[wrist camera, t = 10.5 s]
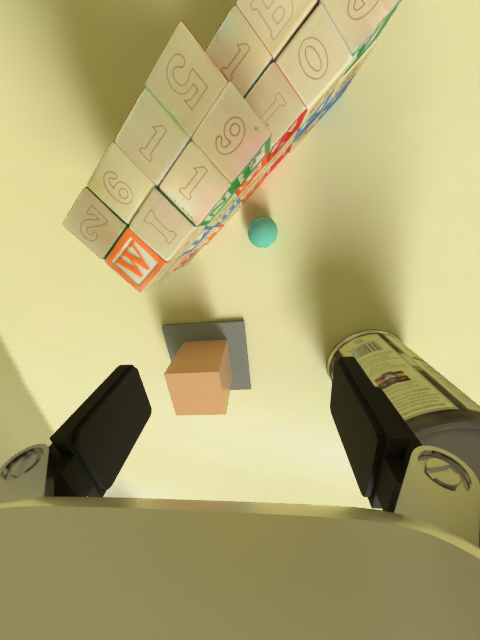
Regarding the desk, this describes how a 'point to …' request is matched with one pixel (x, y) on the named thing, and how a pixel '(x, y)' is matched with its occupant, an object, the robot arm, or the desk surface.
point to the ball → (262, 232)
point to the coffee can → (417, 393)
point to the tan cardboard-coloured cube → (200, 378)
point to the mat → (215, 331)
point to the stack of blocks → (218, 127)
